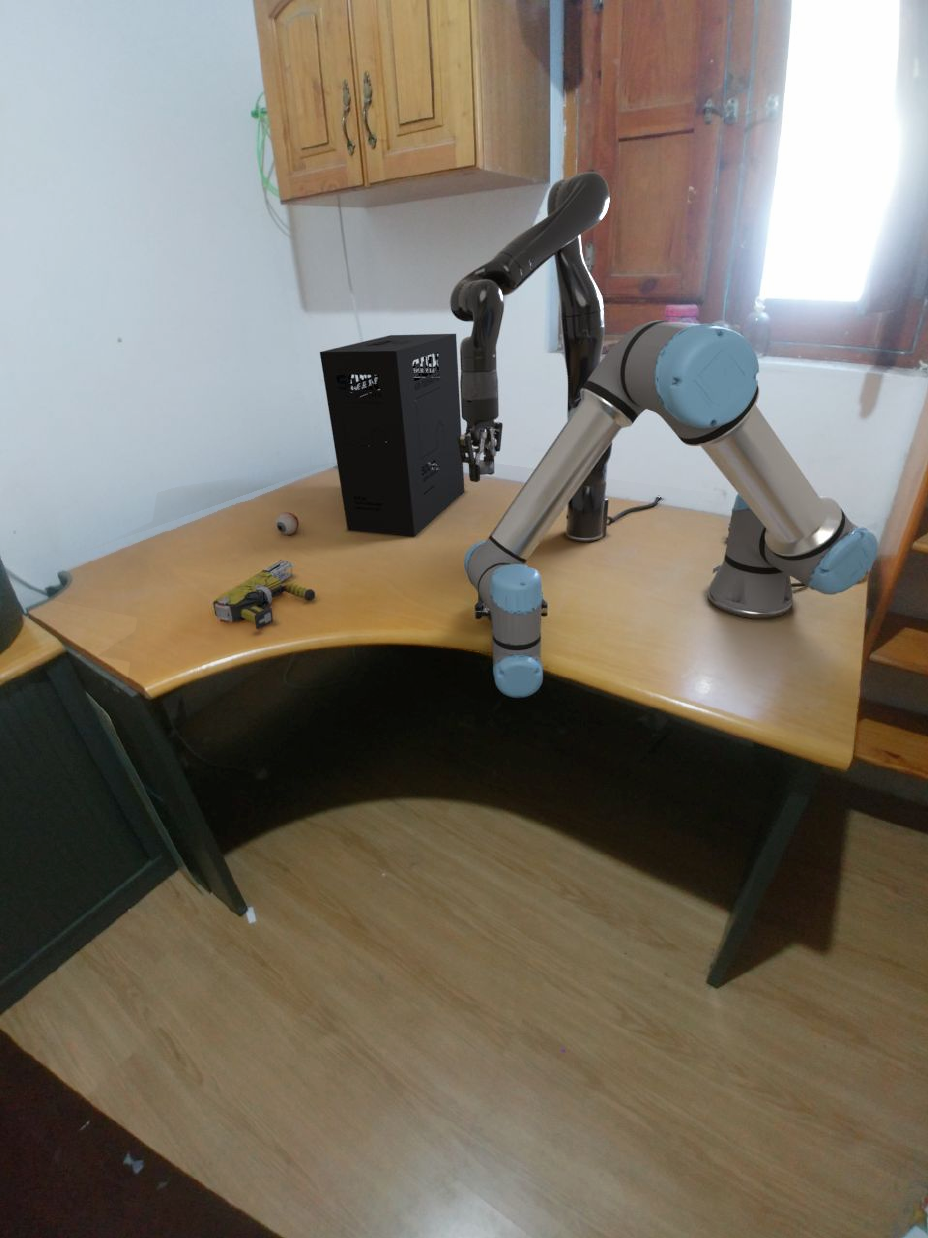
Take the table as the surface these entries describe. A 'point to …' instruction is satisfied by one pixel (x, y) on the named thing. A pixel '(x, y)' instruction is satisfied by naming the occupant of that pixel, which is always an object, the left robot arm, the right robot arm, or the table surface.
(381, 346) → the cardboard box
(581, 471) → the right robot arm
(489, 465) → the lid
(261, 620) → the toy gun
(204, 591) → the table surface
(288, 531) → the eyeball
